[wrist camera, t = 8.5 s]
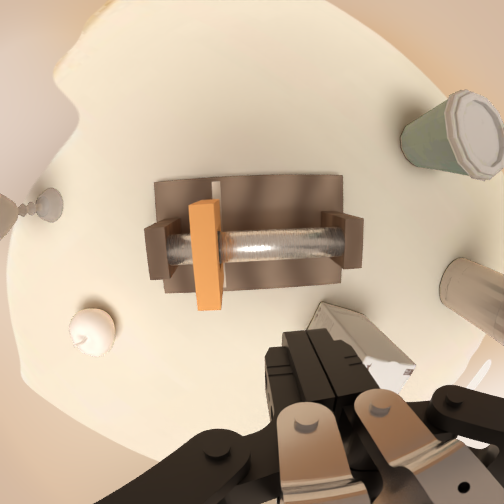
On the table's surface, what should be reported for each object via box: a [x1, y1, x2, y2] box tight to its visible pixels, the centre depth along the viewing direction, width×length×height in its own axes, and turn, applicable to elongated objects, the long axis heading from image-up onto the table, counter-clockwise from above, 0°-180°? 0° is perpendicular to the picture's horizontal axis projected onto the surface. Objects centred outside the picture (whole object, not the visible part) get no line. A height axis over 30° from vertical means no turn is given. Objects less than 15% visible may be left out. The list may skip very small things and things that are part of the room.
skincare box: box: [307, 302, 416, 394], centre depth 32 cm, size 8×6×15 cm
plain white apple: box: [69, 309, 115, 357], centre depth 33 cm, size 7×7×8 cm
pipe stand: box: [144, 175, 364, 293], centre depth 30 cm, size 23×14×10 cm, turn 92°
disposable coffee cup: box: [401, 90, 504, 181], centre depth 26 cm, size 11×11×15 cm
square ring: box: [189, 199, 224, 311], centre depth 27 cm, size 2×9×9 cm, turn 2°
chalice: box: [0, 188, 63, 240], centre depth 23 cm, size 7×7×18 cm
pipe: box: [166, 227, 345, 265], centre depth 27 cm, size 21×3×3 cm, turn 92°
